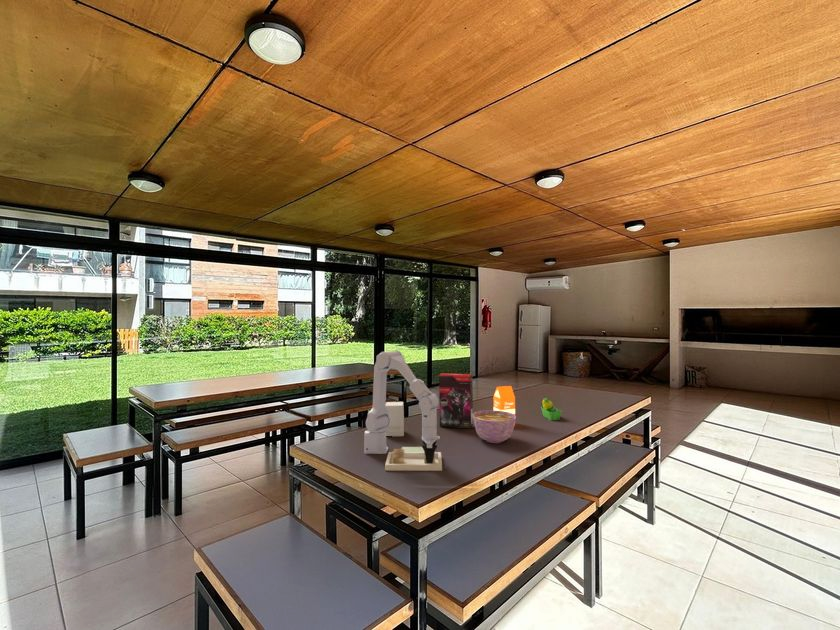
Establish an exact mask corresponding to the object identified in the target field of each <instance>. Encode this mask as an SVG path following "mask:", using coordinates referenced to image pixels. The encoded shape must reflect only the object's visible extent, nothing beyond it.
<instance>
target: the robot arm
mask: <svg viewBox="0 0 840 630" xmlns="http://www.w3.org/2000/svg"><path fill="white" fill-rule="evenodd" d="M405 359H406V358H405V356H404V355H403V354H402V353H401V351H399V350H390V351H381V352H380V353H379V354H377V355H376V359H375V360H376V361H375V363H374V367H373V388H372V389H373V390H372V408H371V409H370V410H369V411H368V413H367V417H366V420H365V427H366V429H367V430H365V431H364V437H363V453H364V454H379V455H380V454H381V455H382V454H388V451H389V450H388V449H389V447H388V446H387V437H386V430H387V427H388V426H389V424H390V418H389V411H388V410H387V409H386V408H385V405H386V402H387V401H386V400H387V381H388V380H387V377H388V372H389V371H390V370H397V371H398V372H399V373H400V375H402V377H403V378H404V379H405V380H406V381H407V383H409V390H410V391H411V392H412V394H413V395H414V396H415V398H416V399H417V401H419V402H418V407H419V408H420V411H421V412H420V413H421V440H422V444H421V447H422V448H423V450H424V452H425V456H426V461H427V463H432V462H433V457H434V452H436V449H437V447H438V445H437V444H436V443H437V441H438V440H441V437H440V436H439V435H438V434H437V433H438V429H437V428H438V426H437V424H438V419H437V418H438V417H437V416H438V415H437V413H438V411H437V410H438V409H437V408H438V407H439V406H440V404H439V395H438V394H436V393H435V392H432V391H431V390H430V389H429V388H428V387H427V385H426V384H425V382H424V380H422V379H420V378H417V377H416V375H415V374H414V373H413V371H412V370H411V368H410V366H409V365H408V364H407V362H406V360H405Z"/></svg>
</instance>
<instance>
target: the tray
mask: <svg viewBox="0 0 840 630" xmlns="http://www.w3.org/2000/svg"><path fill="white" fill-rule="evenodd" d="M442 459H443V458H442V452H441V451H435V464H424V452H404V464H393V451H389V452H387V456H386V461H385V464H384V470H385V471H390V472H391V471H393V472H394V471H403V472H404V471H411V472H412V471H415V472H416V471H421V472H423V471H426V472H429V471H434V472H435V471H437V472H438V471H440V472H441V471H443V461H442Z"/></svg>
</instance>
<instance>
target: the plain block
mask: <svg viewBox="0 0 840 630" xmlns="http://www.w3.org/2000/svg"><path fill="white" fill-rule="evenodd" d="M392 452H393V464H404V449H402V448H393V451H392Z"/></svg>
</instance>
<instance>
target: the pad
mask: <svg viewBox="0 0 840 630" xmlns="http://www.w3.org/2000/svg"><path fill="white" fill-rule="evenodd" d="M401 449H404V452H424V450H423V448H422V446H401Z"/></svg>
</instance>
